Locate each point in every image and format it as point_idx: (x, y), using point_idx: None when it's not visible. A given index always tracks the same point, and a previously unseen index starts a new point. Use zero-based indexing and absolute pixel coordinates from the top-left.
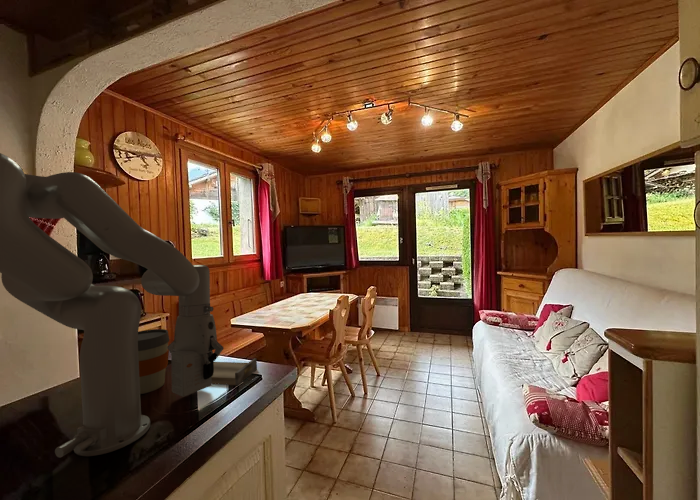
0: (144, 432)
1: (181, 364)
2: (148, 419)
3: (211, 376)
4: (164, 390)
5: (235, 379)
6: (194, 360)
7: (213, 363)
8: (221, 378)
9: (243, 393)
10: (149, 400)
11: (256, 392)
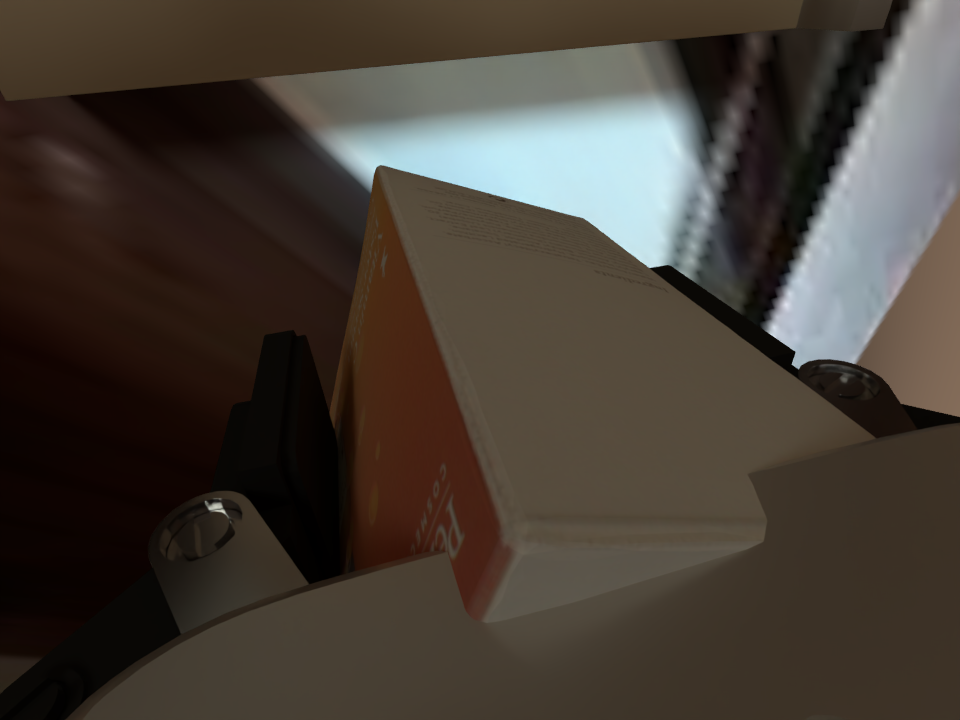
0: None
1: None
2: None
3: (458, 34)
4: (39, 307)
5: (786, 27)
6: None
7: (796, 371)
8: (612, 42)
9: (841, 167)
10: (147, 452)
11: (939, 126)
